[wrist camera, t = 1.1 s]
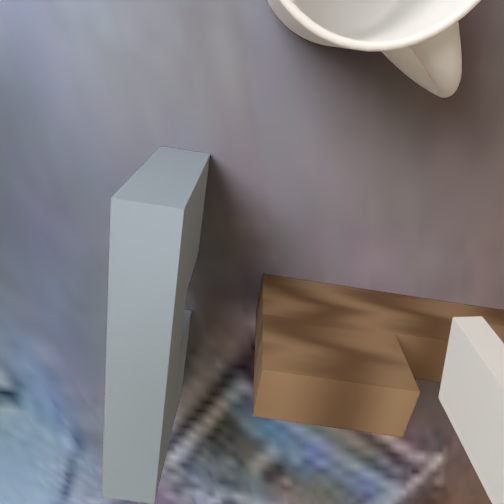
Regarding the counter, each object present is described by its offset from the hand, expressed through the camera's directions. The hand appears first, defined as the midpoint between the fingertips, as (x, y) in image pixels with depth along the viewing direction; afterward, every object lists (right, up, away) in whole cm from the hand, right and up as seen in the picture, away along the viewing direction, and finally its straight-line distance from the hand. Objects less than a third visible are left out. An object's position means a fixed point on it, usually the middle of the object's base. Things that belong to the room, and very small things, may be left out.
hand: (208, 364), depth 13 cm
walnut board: (+12, -1, +20) cm, 23 cm away
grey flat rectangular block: (-4, +1, +19) cm, 20 cm away
